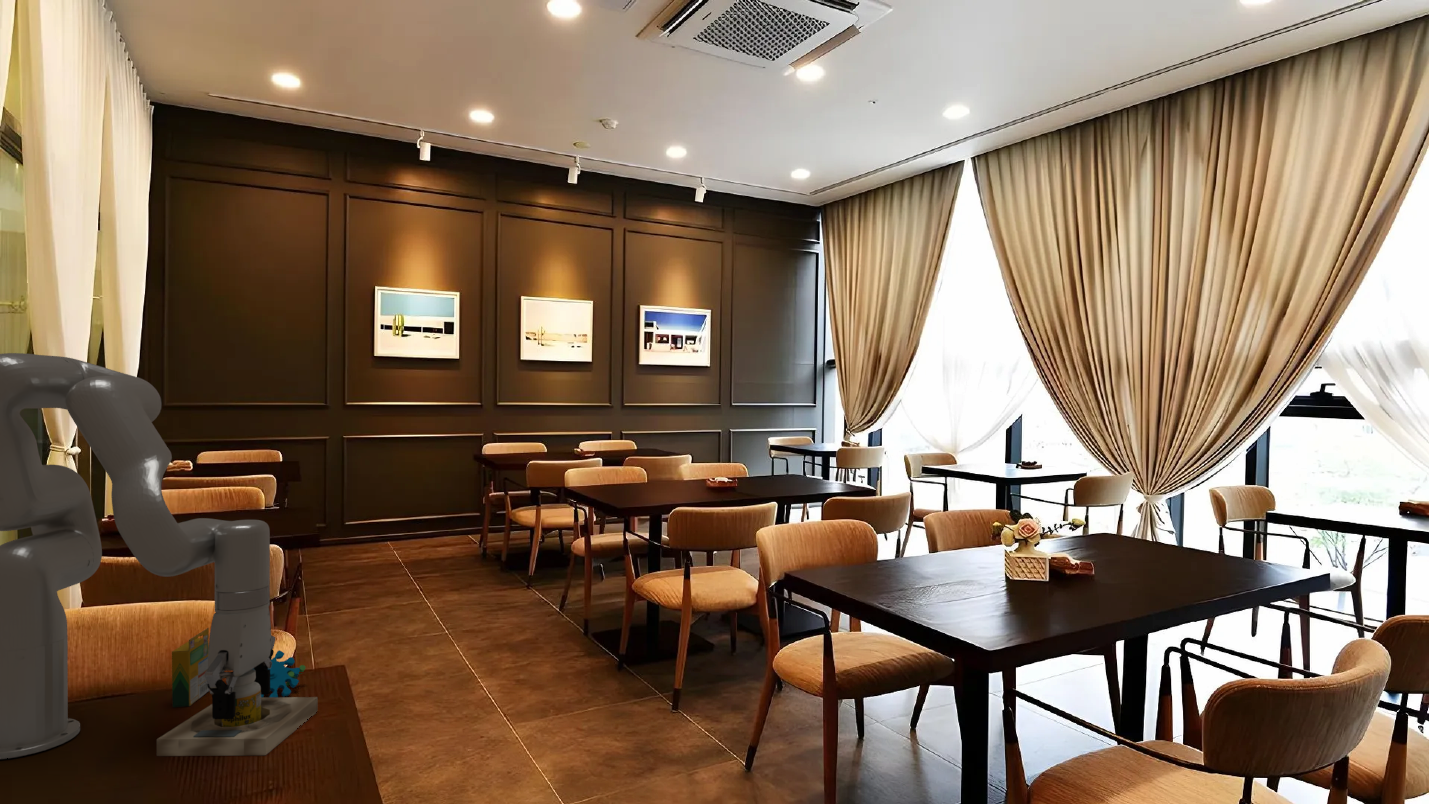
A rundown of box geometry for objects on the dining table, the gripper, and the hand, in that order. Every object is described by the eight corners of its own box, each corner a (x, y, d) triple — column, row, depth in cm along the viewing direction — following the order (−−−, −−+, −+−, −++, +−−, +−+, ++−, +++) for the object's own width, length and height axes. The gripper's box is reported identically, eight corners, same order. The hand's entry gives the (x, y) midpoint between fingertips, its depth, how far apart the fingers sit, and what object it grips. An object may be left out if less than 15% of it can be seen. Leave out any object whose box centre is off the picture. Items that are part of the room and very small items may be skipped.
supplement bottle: (265, 724, 127) (265, 665, 127) (255, 738, 122) (255, 677, 122) (228, 727, 125) (228, 668, 125) (216, 742, 120) (216, 680, 120)
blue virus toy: (243, 701, 132) (237, 649, 137) (232, 719, 134) (226, 668, 140) (311, 692, 140) (302, 644, 146) (299, 710, 142) (291, 661, 148)
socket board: (156, 756, 115) (156, 738, 115) (222, 712, 131) (222, 696, 131) (265, 755, 116) (265, 737, 116) (317, 711, 132) (317, 695, 132)
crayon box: (192, 691, 140) (192, 628, 140) (210, 690, 141) (210, 627, 141) (170, 707, 133) (170, 640, 133) (189, 706, 134) (189, 639, 134)
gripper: (249, 585, 132) (249, 685, 132) (182, 613, 115) (182, 729, 115) (294, 585, 132) (294, 685, 132) (234, 613, 115) (234, 728, 115)
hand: (242, 705), depth 124 cm, fingers open, 9 cm apart
